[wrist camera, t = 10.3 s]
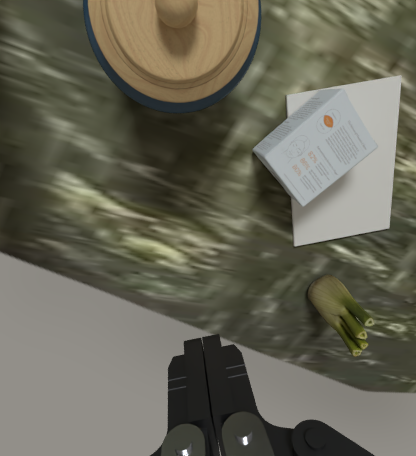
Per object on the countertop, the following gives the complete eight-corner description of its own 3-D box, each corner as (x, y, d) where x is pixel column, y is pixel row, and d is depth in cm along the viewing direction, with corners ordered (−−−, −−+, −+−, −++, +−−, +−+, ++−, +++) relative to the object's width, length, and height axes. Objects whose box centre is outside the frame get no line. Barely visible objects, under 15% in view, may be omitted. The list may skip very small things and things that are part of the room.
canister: (219, 118, 37) (258, 134, 21) (107, 96, 35) (53, 95, 19) (244, -12, 33) (317, -119, 17) (116, -47, 31) (56, -209, 14)
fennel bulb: (323, 264, 47) (369, 316, 36) (345, 280, 49) (396, 334, 38) (297, 292, 48) (334, 350, 37) (319, 306, 50) (361, 366, 39)
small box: (286, 195, 42) (353, 141, 40) (303, 208, 37) (380, 147, 35) (250, 148, 39) (321, 87, 37) (262, 156, 34) (345, 86, 32)
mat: (285, 95, 37) (286, 95, 37) (399, 75, 38) (401, 75, 37) (293, 245, 45) (294, 246, 45) (387, 227, 46) (389, 228, 45)
